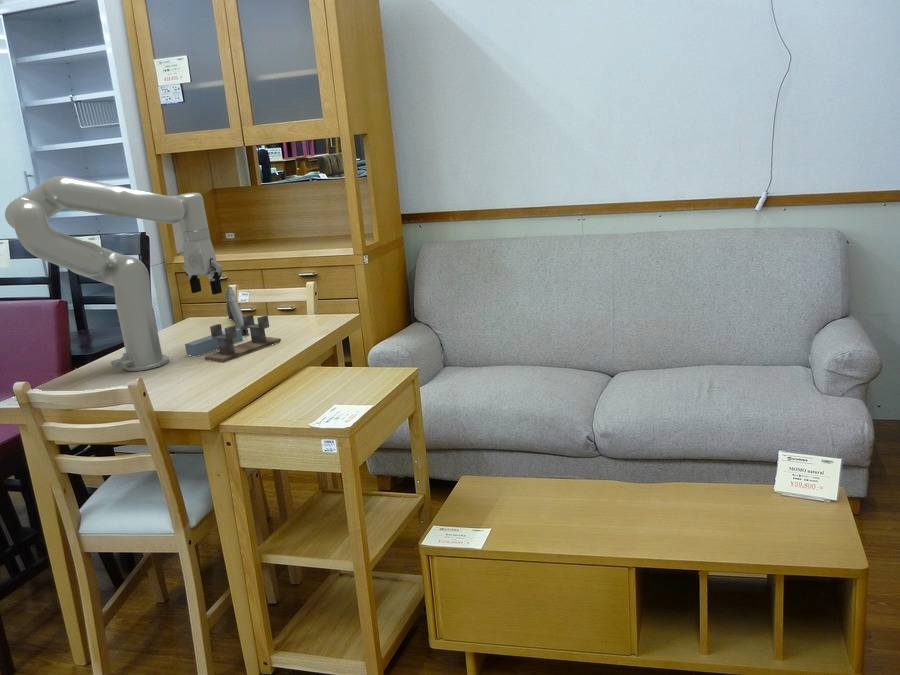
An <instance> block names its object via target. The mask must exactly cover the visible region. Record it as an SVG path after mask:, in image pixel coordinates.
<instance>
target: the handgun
mask: <svg viewBox="0 0 900 675" xmlns="http://www.w3.org/2000/svg"><path fill="white" fill-rule="evenodd" d="M224 294H225V298H226V300H225V301H226V312H227V315H228V319H232V320H233V322H234V324H235V326H236V329H241V332H242V335H248V334H249V328H244V322H243V316H244V314H243V313H242V310H241V308H240V304H239V302H238V299H237V297H236V294H235V291H234V290H233V287H232V286H228V287H227V288H226V291H225V292H224ZM247 333H248V334H247Z"/></svg>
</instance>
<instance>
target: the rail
mask: <svg viewBox="0 0 900 675" xmlns="http://www.w3.org/2000/svg"><path fill="white" fill-rule="evenodd" d="M236 331H237V337H238V338H235V339H233V344H234V343H235V344H237V343H240V342H243V341H244V340H243V334H242V332H241V329H238V328H236ZM222 333H223V334H225V330H224V331H223V330H222ZM225 335H226V334H225ZM242 340H243V341H242ZM239 341H240V342H239ZM235 344H234V345H235ZM184 346H185V350H186V356H187V355H191V356H190V357H192V356H197V357H199V356H198V355H200V356H202V355H201V354H203V355H205V354H204V353H206V354H208V353H207V352H209V353H211V352H210V351H212V352H214V351H213V350H215V351H217V350H219V346H218V340H217V339H214V338H212V335H208V336H204V337H201V338H199V339H196V340H193V341H190V342H187V343H185V344H184ZM216 349H217V350H216Z"/></svg>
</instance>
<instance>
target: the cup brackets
mask: <svg viewBox="0 0 900 675" xmlns="http://www.w3.org/2000/svg"><path fill="white" fill-rule="evenodd" d="M256 319H257V320H256V321H257V323H255V318H254V314H252V313H249V314H246V315H243V322H244V328H248V329H249V332H250V338H251V340H249V341H246V342H243V343H240V344H237V345H235V344H233V339H235V338H238V337H237V331H236V329H237V325H230V326H227V327H224V331H225V334H226V335H225V334H223V333H222V332H223V329H222V328H223V326H222V324H220V323H216V324H214V325H211V326H209V329H210V334H211V335H212V338H214V339H217V340H218V346H219V349H218V350H219V351H216V352H213V353H211V354H209V355H205V356H204V360H205V361H210V360H211V361H210V362H216V361H217V362H216V363H225V362H228V361H231V360H234V359H236V358H240V357H242V356H245V355H248V354H251V353H253V351H254V352H256V351H258V350H261V349H265V348H267V346H268V347H270V346H273V345H276V344H279V343H281V342H282V338H280V337H272V336H267V335H266V330H265V329H268V328H270V322H269V316H268V315H265V314H264V315H262V316H259V317H256ZM211 335H210V336H211ZM280 341H281V342H280ZM278 342H279V343H278ZM275 343H276V344H275ZM272 344H273V345H272ZM269 345H270V346H269ZM264 347H265V348H264Z"/></svg>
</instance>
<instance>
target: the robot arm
mask: <svg viewBox="0 0 900 675" xmlns="http://www.w3.org/2000/svg"><path fill="white" fill-rule="evenodd" d="M64 209H66V210H72V211H79V212H85V213H90V214H95V215H96V214H98V215H103V216H109V217H116V218H117V217H118V218H132V219H139V220H146V221H153V222H157V223H161V224H168V225H169V224H170V225H174V224H177V223H180V230H181V235H182V240H183V241H182V257H183V264H182V268H183V270H184V273H185V275H186V276H187V280H188V281H189V285H190V286H189V287H190V290H191V293H192V294H195V293H200V292H201V291H202V287H201V286H202V285H201V280H200V277H199V276H201V277H202V276H206V275H207V277H208V278H209V280H210V281H209V284H210V290H211V295H213V296H214V295H219V294H221V293H223V289H222V285H221V279H222V275H223V274H222V272H223V271H222V270H223V266H222V264H220V263H219V262H218V261H217V256H216V253H215V248H214V246H213V242H212V240H211V235H210V231H209V230H210V229H209V226H208V218H207V215H206V214H207V213H206V208H205V202H204V198H203V194H201V193H200V192H187V193H182V194H179V195H164V194H159V193H155V192H149V191H148V192H147V191H145V190H144V191H142V190H137V189H134V188H129V187H125V186H121V185H116V184H110V183H106V182H105V183H104V182H101V181H95V180H90V179H89V180H88V179H84V178H78V177H73V176H66V175H62V176H59V175H57V176H53V177H50V178H49V179H47V180H46V181H44V182H43V183H41V184H39V185H38V186H36V187H34V188H32V189H31V190H29V191H28V192H26V193H24V194H22V195H20V196H18V197H17V198H15V199H14V200H12V201H11V202H9V204H8V205H7V206H6V208H5V211H4V217H5V220H6V221H5V222H6V223H7V224H8V225H9V226H10V227H11V228H12V229H13V230H14V231H15V234H16V236H17V239H18V241H19V242H20V244H21V246H22V247H23V248H24V250H26V251H27V252H28V253H29V254H31V255H32V256H34V257H36V258H38V259H41V260H42V261H45V262H47V263H51V264H53V265H55V266H58V267H60V268H64V269H67V270H69V271H71V272H72V273H74V274H76V275H79V276H83V277H85V278H88V279H91V280H94V281H97V282H100V283H103V284H106V285H109V286H112V287H113V289H114V302H115V306H116V312H117V313H116V314H117V316H118V320H119V326H120V330H121V335H122V340H123V344H124V351H125V352H124V353H122V356H121V357H120V358H118V359H114V360H111V361H110V362H111V363H110V364H111V366H112V367H113V368H117V367H120V366H121V367H122V369H123V370H124V371H127V372H140V371H146V370H151V369H156V368H158V367H162V366H164V365H166V364H168V362H170V358H169V355H166V354H163V352H162V348H161V347H162V346H161V343H160V341H161V340H160V337H159V330H158V326H157V321H156V316H155V310H154V306H153V302H152V294H151V284H150V283H151V282H150V274H149V271H148V268H147V267H146V264H144V262H142V261H141V260H140V259H138V258H137V257H133V256H130V255H125V254H122V253H119V252H116V251H113V250H110V249H108V248H105V247H104V246H103V247H102V246H101V245H98V244H97V243H95V242H91V241H87V240H82V239H78V238H76V237H74V236H71V235H68V234H66V233H63V232H61V231H58V230H56V229H54V228H53V227H52V226H51V225H50V223H49V221H48V219H50V218H51V217H53V216H55V215H56V214H58V213H59V212H60V211H62V210H64Z"/></svg>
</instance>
